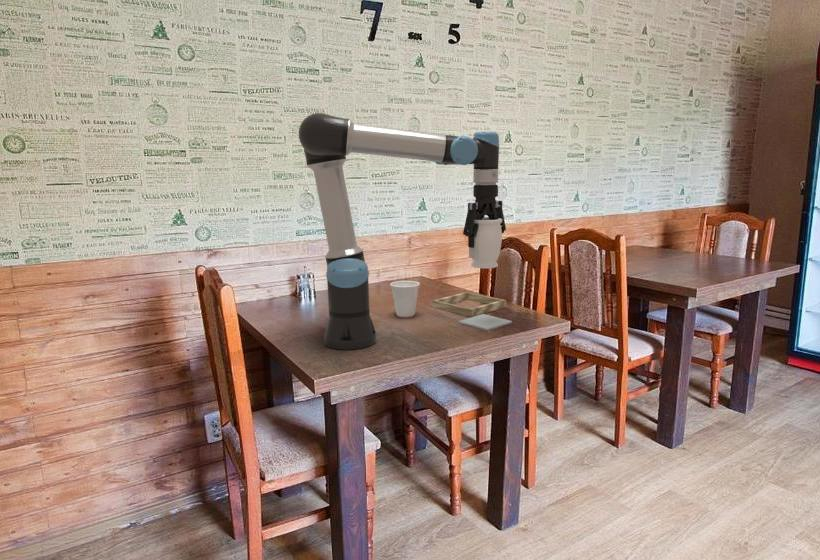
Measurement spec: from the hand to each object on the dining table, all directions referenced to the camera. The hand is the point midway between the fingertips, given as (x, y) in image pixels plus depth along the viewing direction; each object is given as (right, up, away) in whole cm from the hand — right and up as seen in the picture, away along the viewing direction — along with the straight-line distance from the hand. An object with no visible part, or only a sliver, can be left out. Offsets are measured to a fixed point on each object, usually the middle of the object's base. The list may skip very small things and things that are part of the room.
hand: (484, 255), depth 173 cm
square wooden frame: (-2, -17, +23) cm, 29 cm away
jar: (0, -4, +1) cm, 4 cm away
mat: (+1, -21, +4) cm, 22 cm away
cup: (-25, -20, +14) cm, 35 cm away
